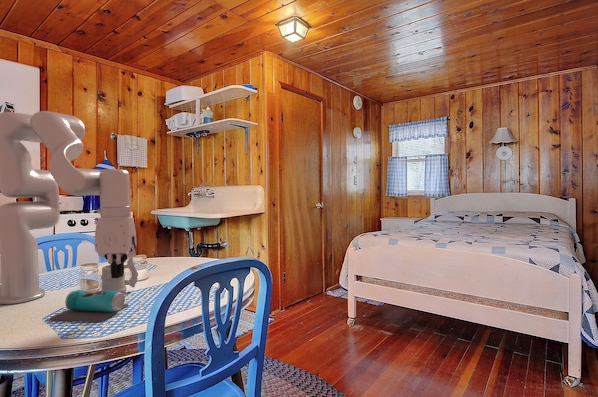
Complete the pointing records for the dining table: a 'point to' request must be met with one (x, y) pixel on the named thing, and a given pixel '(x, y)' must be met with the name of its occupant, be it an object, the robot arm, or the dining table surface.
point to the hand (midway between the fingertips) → (117, 276)
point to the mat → (84, 315)
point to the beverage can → (95, 300)
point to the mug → (120, 282)
